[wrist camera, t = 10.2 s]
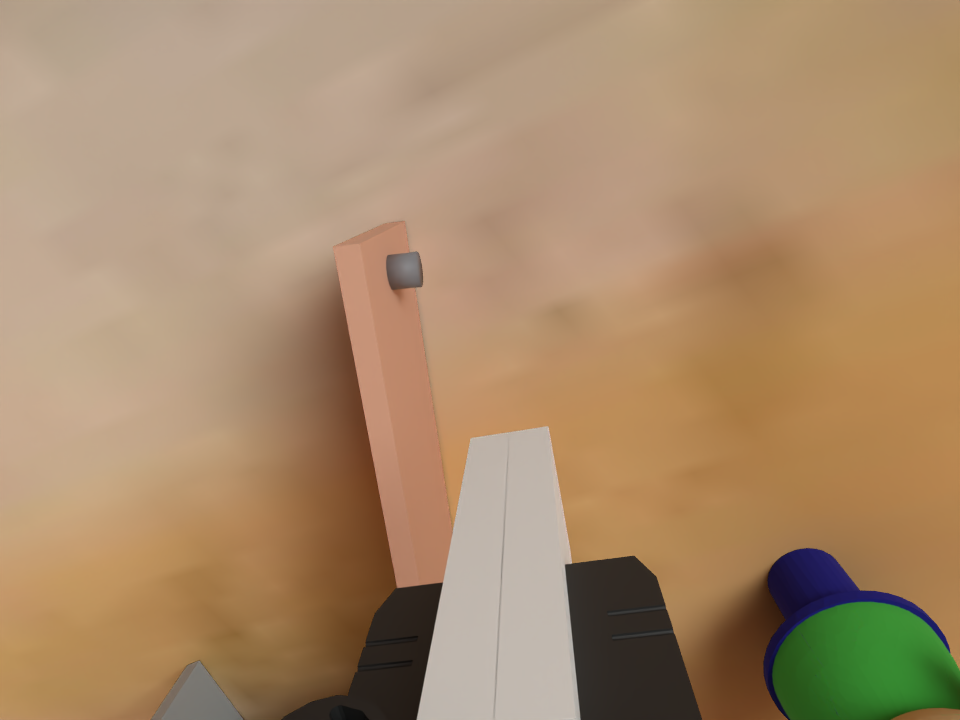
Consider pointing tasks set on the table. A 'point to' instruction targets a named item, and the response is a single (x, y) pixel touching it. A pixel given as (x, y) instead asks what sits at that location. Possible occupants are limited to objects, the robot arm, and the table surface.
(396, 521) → the door
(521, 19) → the table surface
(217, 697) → the box
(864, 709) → the toy
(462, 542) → the robot arm
